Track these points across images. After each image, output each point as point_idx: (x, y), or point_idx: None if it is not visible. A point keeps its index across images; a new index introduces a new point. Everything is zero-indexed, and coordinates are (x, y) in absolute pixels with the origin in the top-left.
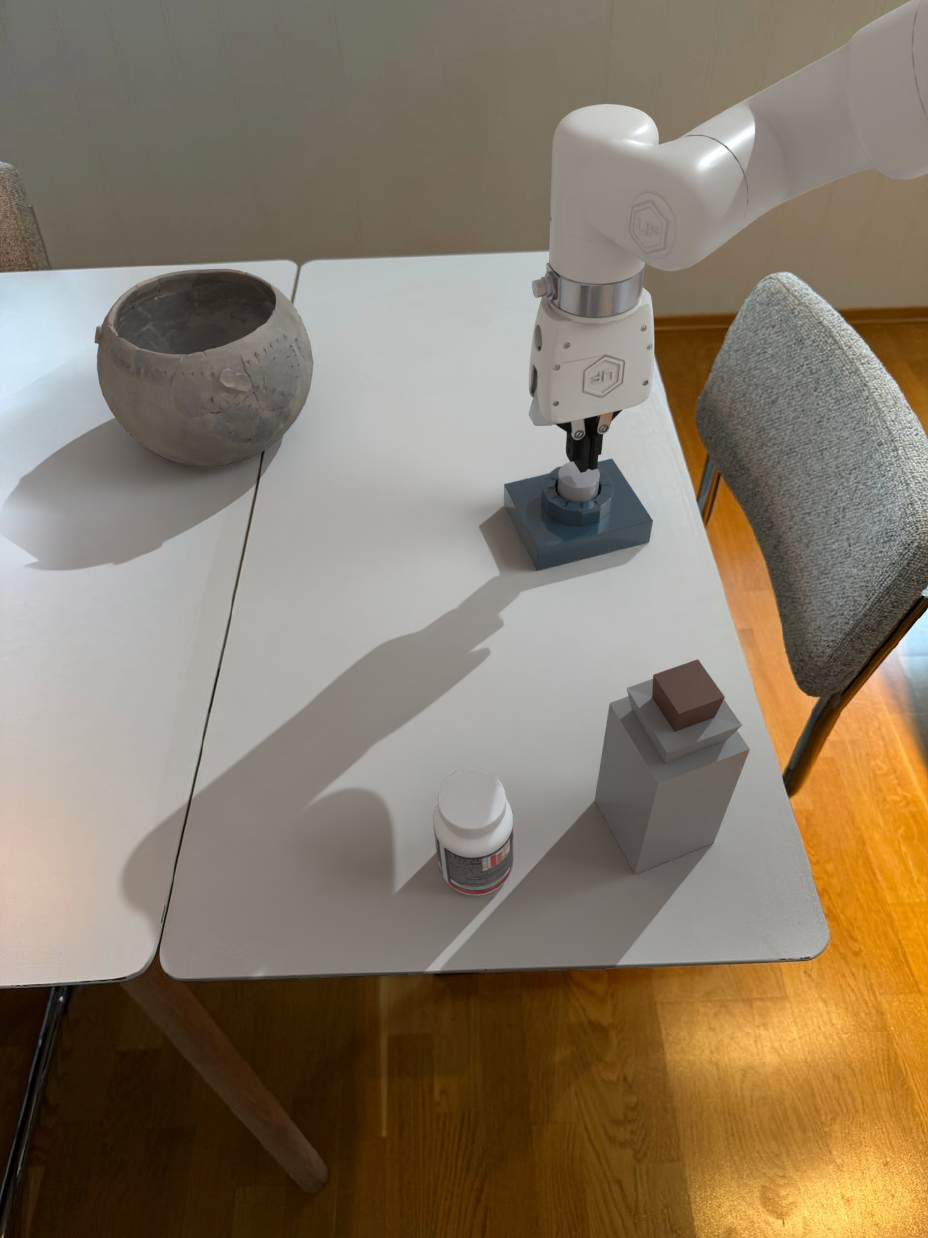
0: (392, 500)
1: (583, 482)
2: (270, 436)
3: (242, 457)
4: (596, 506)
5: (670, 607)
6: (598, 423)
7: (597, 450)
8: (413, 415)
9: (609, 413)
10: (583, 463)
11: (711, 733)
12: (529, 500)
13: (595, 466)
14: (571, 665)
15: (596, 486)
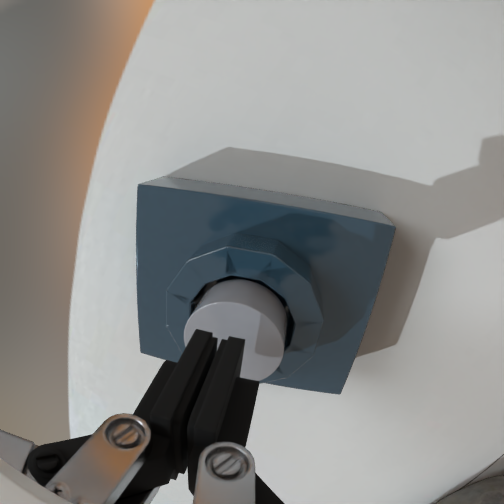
0: (443, 417)
1: (237, 319)
2: (484, 498)
3: (497, 480)
4: (235, 252)
5: (212, 30)
6: (134, 462)
7: (176, 374)
8: (330, 493)
9: (77, 474)
10: (234, 359)
11: None
12: (328, 347)
13: (199, 335)
14: (425, 13)
15: (209, 297)
